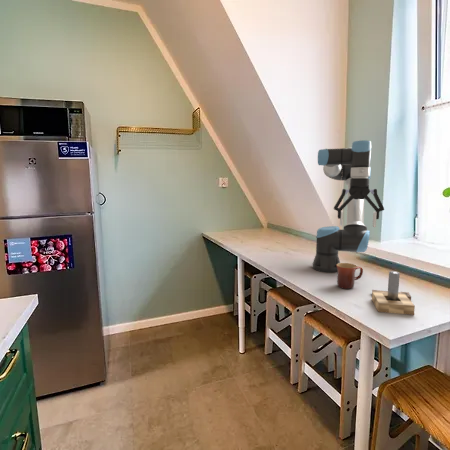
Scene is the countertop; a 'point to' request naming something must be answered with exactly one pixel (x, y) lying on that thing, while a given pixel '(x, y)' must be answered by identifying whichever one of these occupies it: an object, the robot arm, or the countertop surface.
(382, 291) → the bar
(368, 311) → the countertop surface
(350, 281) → the mug
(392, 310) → the socket block
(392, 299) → the pin
